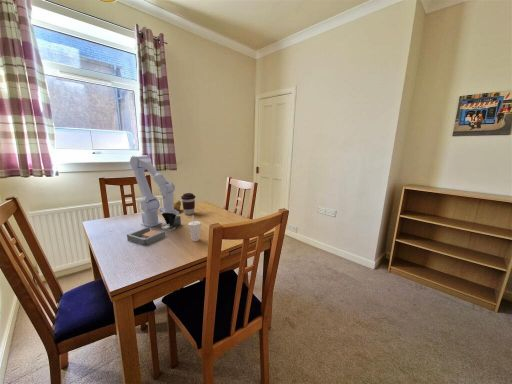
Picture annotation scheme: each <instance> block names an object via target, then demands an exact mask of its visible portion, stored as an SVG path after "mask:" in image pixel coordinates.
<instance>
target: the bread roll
mask: <svg viewBox="0 0 512 384" xmlns="http://www.w3.org/2000/svg"><path fill="white" fill-rule="evenodd" d="M173 203H174V209H175V210H176V211H179V212H180V210H181V205H182V201H181V200H176V201H173Z"/></svg>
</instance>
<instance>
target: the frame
mask: <svg viewBox="0 0 512 384" xmlns="http://www.w3.org/2000/svg"><path fill="white" fill-rule="evenodd" d="M150 228H151V227H149V226H146V227H143V228H141V229H138V230H136V231H133V232H131V233H128V234H126V237H127V238H126V239H127V241H130V242H133V243H135V244H136V243H137V244H139V245H142V246H148V245H149V244H152V243H153V242H156V241H158V240H161V239H163V238H165V237H166V236H167V235H166V230H163V231H159V232H160V233H158V234H155V235H153V236H151V237H148V238H144V237H142V234H145V233H147V232H149V231H151V230H150ZM140 236H141V237H140Z"/></svg>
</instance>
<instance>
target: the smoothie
mask: <svg viewBox="0 0 512 384" xmlns="http://www.w3.org/2000/svg"><path fill="white" fill-rule="evenodd" d="M187 226H188V227H189V233H190V236H191V241H192V242H198V241H200V231H201V221H198V220H195V216H194V214H192V221H190V222H188V225H187Z"/></svg>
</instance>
